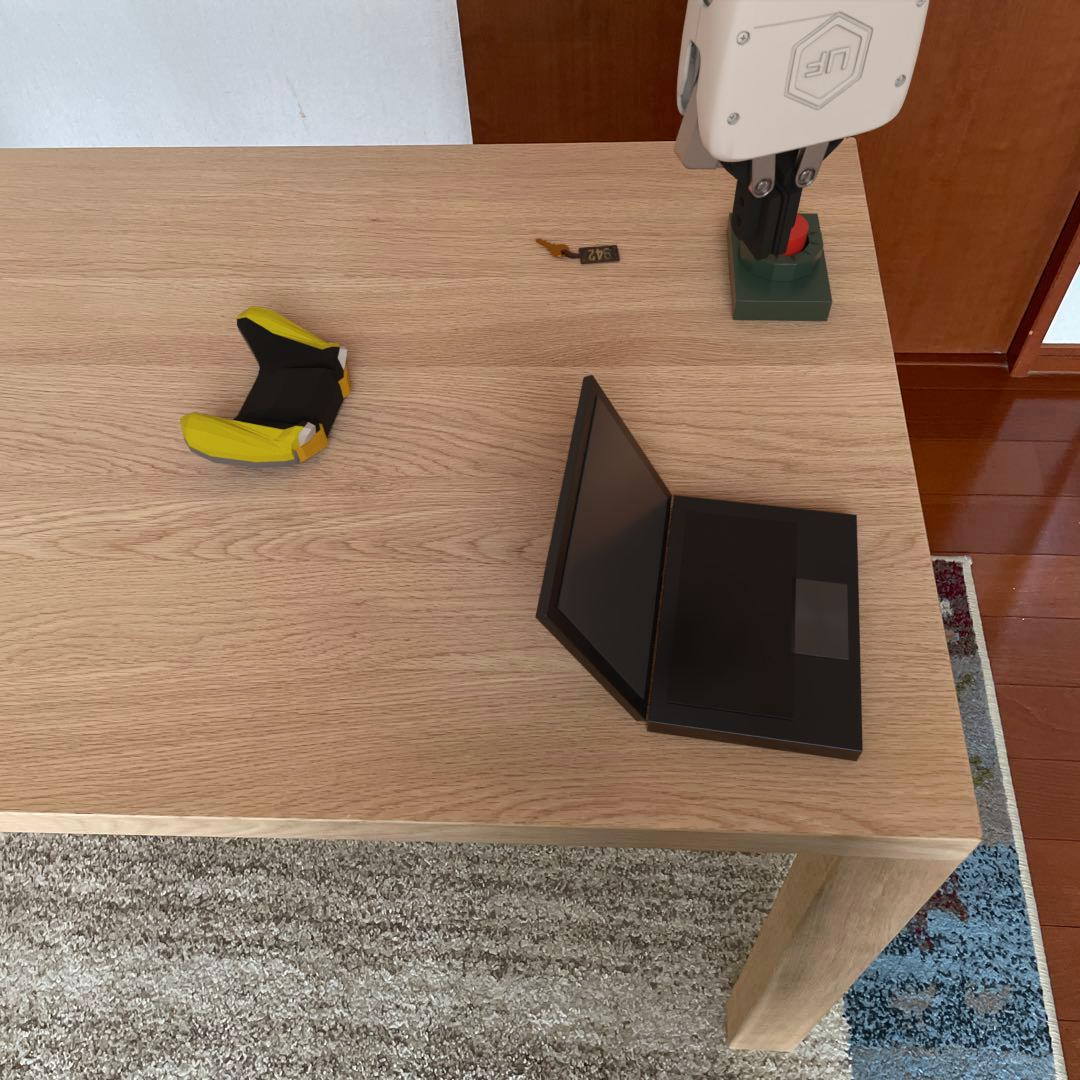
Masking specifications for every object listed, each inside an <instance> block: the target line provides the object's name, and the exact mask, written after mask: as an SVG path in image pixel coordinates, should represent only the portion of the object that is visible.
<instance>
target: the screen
mask: <svg viewBox="0 0 1080 1080" xmlns="http://www.w3.org/2000/svg"><path fill="white" fill-rule="evenodd" d="M560 486H561V487H560V492H559V495H558V502H557V506H556V510H555V511H556V512H555V517H554V521H553V527H552V531H551V537H550V541H549V547H548V551H547V558H546V560H545V561H546V562H545V566H544V572H543V577H542V582H541V586H540V590H539V591H540V592H539V597H538V601H537V607H536V611H535V616H534V617H535V619H536V620H537V621H538V622H539V623H540V624H541V625H542V626H543V627H544V628H545V629H546V630H547V631H548V632H549V634H551V635H552V637H554V639H556V640H557V642H559V644H560V645H561V646H562V647H563V648H564V649H565V650H566V651H567V652H568V653H569V654H570V655H571V656H572V657H573V658H574V659H575V660H576V661H577V662H578V663H579V664H580V665H581V666H582V667H583V668H584V669H585V670H586V671H587V673H588V674H590V675H591V677H593V679H594V680H595V681H596V682H598V683H599V685H600V686H601V687H602V688H603V689H604V690H605V691H606V692H607V693H608V694H609V695H610V696H611V697H612V698H613V699H614V700H615V701H616V702H617V704H619V705H620V706H621V708H623V709H624V711H626V713H627V714H628V715H630V717H632V718H633V720H634V721H636V722H637V723H639V722H646V721H647V719H648V718H647V717H648V710H649V709H648V708H649V701H650V700H649V699H650V693H651V691H650V690H651V684H652V683H651V682H652V675H653V666H654V665H653V664H654V658H655V657H654V656H655V649H656V640H657V632H658V630H657V629H658V623H659V622H658V621H659V614H660V606H661V605H660V604H661V603H660V602H661V597H662V596H661V595H662V588H663V580H664V571H665V569H664V568H665V562H666V554H667V552H666V551H667V545H668V536H669V528H670V519H671V510H672V502H673V494H672V492H671V491H670V489H669V488H668V486H667V485H666V483H665V482H664V480H663V478H662V477H661V476H660V474H659V473H658V470H656V468H655V467H654V465H653V464H652V462H651V461H650V459H649V458H648V456H647V455H646V453H645V452H644V450H643V449H642V447H641V446H640V444H639V443H638V441H637V439H636V438H635V436H634V435H633V433H632V432H631V431H630V429H629V428H628V426H627V425H626V423H625V422H624V420H623V418H622V416H621V415H620V414H619V412H618V411H617V409H616V408H615V406H614V404H613V403H612V402H611V401H610V399H609V397H608V395H607V394H606V393H605V391H604V390H603V388H602V387H601V385H600V384H599V382H598V380H597V379H596V378H595V376H594V375H593V374H589V375H586V376H583V378H582V382H581V388H580V393H579V398H578V402H577V408H576V412H575V417H574V423H573V428H572V431H571V437H570V441H569V447H568V453H567V456H566V462H565V466H564V473H563V477H562V481H561V485H560Z"/></svg>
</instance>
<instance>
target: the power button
mask: <svg viewBox="0 0 1080 1080" xmlns="http://www.w3.org/2000/svg"><path fill="white" fill-rule="evenodd" d="M808 229H809V226H808V223H807V221H806V219H805V218H803V217H802V216H801V215H799V214H797V217H796V221H795V225H794V227H793V228H791V233H790V237H789V242H788V247H787V251H786V253H785V254H782V255H794V254H797V253H799V252H800V251H801V250H802V249H803V248H804V246H805V242H806V238H807V233H808Z"/></svg>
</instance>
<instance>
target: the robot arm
mask: <svg viewBox="0 0 1080 1080" xmlns="http://www.w3.org/2000/svg"><path fill="white" fill-rule="evenodd" d="M929 5H930V0H687V5H686V11H685V17H684V22H683V30H682V36H681V44H680V53H679V59H678V60H679V61H678V69H677V81H676V82H677V83H676V105H677V110H678V112H679V113H680V115H681V116H683V117H682V120H681V124H680V127H679V129H678V132H677V135H676V139H675V142H674V145H673V152H674V155H675V156H676V157H677V158H678V160H679V161H680V163H681V164H682V165H683V167H684V168H685V169H686V170H717V169H724V170H725V171H726V172H727V173H728V174H729V175H730V176H732V177H733V178H734V179H735V180H736V184H735V191H734V198H733V205H732V212H731V213H732V217H731V226H732V230H733V232H734V234H735V236H736V237H737V238H738V239H739V240H740V241H743V242H744V244H745V245H746V247H747V248H748V249H749V251H750V252H751V254H752V255H753V256H754V258H755V259H756V260H757V261H758V260H762V259H766V258H768V255H770V254H773V255H774V256H778V255H782V254H785V253H786V251H787V247H788V242H789V237H790V233H791V228H793V227H794V225H795V221H796V217H797V213H798V212H799V207H800V202H801V199H802V193H803V189H804V188H807V187H809V186H811V184H813V183H814V182H815V180H816V179H817V177H818V175H819V171H820V169H821V166H822V163H823V162H824V161H825V160H826V159H827V158H828V157H829V156H830V155H831V154H832V153H833V152H834V151H835V149H837V147H839V146H840V145H841V144H842V142H843V141H844V140H845V138H846V139H849V138H851V137H855V136H857V135H861V134H865V133H868V132H871V131H873V130H877V129H879V128H881V127H884V126H885V125H886V124H888V123H889V122H891V121H892V120H893V119H894V118H896V116H897V115H898V114H899V113H900V111H901V110H902V107H903V105H904V102H905V100H906V97H907V94H908V91H909V89H910V85H911V82H912V78H913V74H914V70H915V67H916V63H917V60H918V59H917V58H918V56H919V50H920V46H921V42H922V37H923V34H924V30H925V29H924V28H925V25H926V19H927V14H928V10H929Z"/></svg>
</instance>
